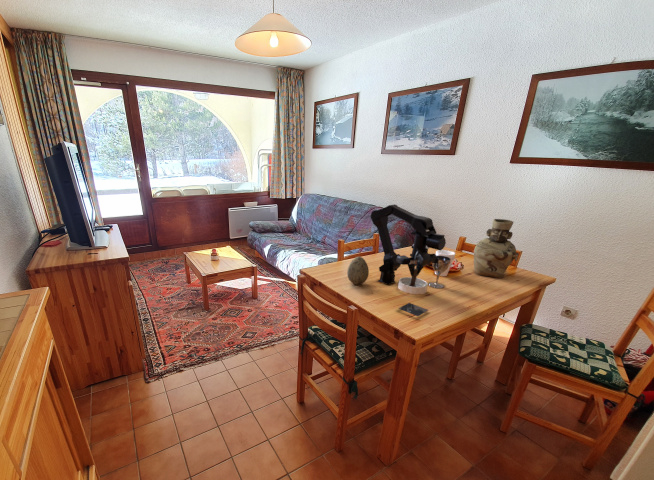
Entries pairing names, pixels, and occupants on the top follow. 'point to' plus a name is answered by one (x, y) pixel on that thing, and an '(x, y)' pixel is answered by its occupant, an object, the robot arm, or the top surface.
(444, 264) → the wine glass
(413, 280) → the stirring stick
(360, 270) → the decorative egg
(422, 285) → the bowl
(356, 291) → the top surface
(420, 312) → the coaster
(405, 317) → the top surface
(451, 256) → the foam cup
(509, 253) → the ceramic vessel
